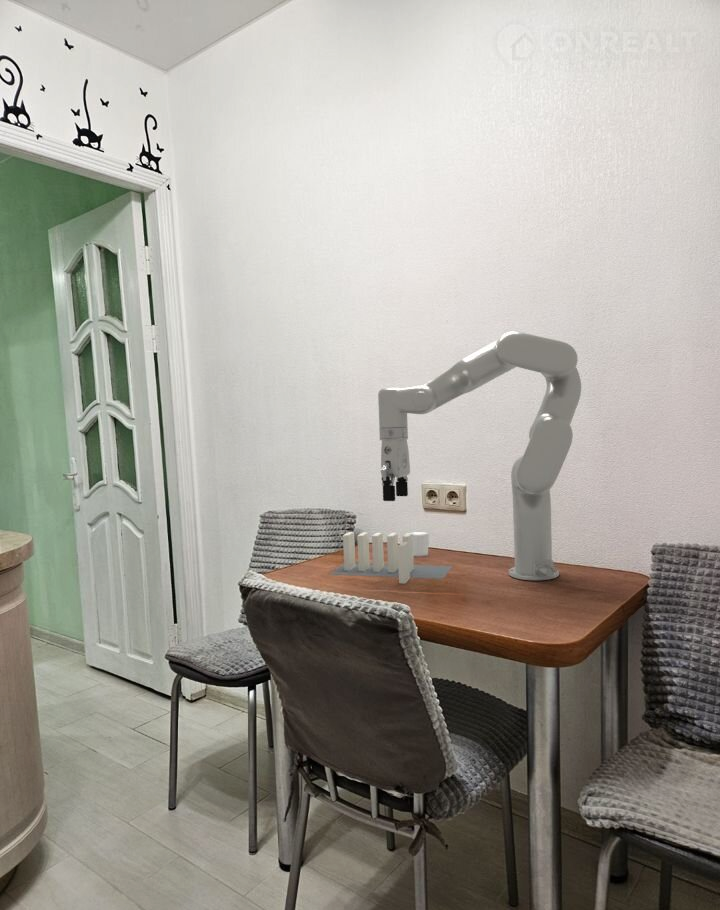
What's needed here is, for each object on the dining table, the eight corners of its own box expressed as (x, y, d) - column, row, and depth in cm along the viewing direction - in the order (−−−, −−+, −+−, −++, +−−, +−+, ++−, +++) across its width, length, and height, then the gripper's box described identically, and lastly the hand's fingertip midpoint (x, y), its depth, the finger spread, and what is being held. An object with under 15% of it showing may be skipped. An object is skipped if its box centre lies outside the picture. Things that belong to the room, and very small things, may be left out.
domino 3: (384, 567, 183) (382, 532, 183) (378, 571, 179) (377, 535, 178) (378, 567, 184) (377, 532, 183) (373, 571, 179) (371, 535, 179)
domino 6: (409, 580, 170) (408, 542, 170) (405, 584, 165) (403, 546, 165) (404, 579, 171) (402, 542, 170) (399, 584, 166) (397, 546, 165)
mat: (452, 567, 182) (452, 566, 182) (443, 580, 168) (442, 578, 168) (345, 563, 192) (345, 562, 192) (328, 575, 179) (328, 574, 179)
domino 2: (369, 567, 185) (368, 532, 184) (364, 571, 180) (362, 535, 179) (364, 566, 185) (363, 532, 185) (358, 571, 180) (357, 535, 180)
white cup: (403, 555, 201) (402, 532, 200) (422, 552, 204) (422, 530, 203) (414, 559, 194) (413, 535, 194) (434, 556, 197) (433, 533, 197)
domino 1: (355, 566, 186) (354, 532, 186) (349, 570, 181) (348, 535, 181) (350, 566, 187) (348, 532, 186) (344, 570, 182) (342, 535, 181)
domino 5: (413, 568, 181) (412, 533, 180) (409, 573, 176) (408, 536, 175) (408, 568, 181) (407, 533, 180) (403, 572, 176) (402, 536, 176)
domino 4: (398, 568, 182) (397, 532, 181) (393, 572, 177) (392, 536, 177) (393, 567, 182) (391, 532, 182) (388, 572, 178) (386, 536, 177)
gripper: (395, 435, 163) (397, 503, 164) (417, 432, 178) (419, 494, 179) (368, 436, 166) (370, 502, 167) (391, 433, 181) (394, 494, 182)
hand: (395, 498), depth 173 cm, fingers open, 9 cm apart
